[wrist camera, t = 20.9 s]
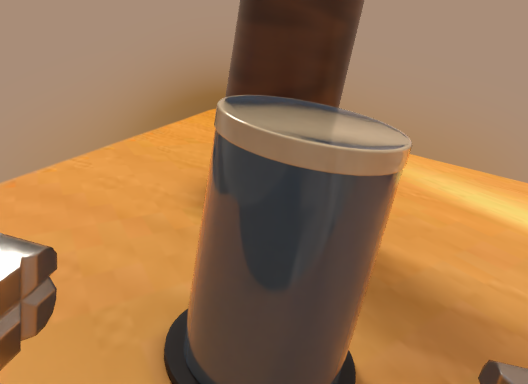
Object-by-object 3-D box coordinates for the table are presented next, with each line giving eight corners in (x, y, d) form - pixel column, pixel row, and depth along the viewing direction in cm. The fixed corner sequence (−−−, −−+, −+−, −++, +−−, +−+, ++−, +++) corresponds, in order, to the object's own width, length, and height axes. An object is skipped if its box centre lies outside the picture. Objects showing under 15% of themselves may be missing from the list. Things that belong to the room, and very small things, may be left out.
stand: (239, 235, 30) (297, -84, 24) (193, 188, 36) (230, -78, 30) (332, 226, 34) (403, -49, 28) (278, 185, 40) (326, -50, 34)
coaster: (212, 468, 15) (214, 459, 15) (139, 316, 21) (140, 309, 21) (393, 401, 19) (396, 394, 19) (288, 290, 26) (289, 284, 25)
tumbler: (219, 437, 16) (277, 148, 12) (161, 314, 21) (189, 88, 18) (374, 392, 19) (456, 153, 15) (290, 295, 24) (336, 101, 21)
